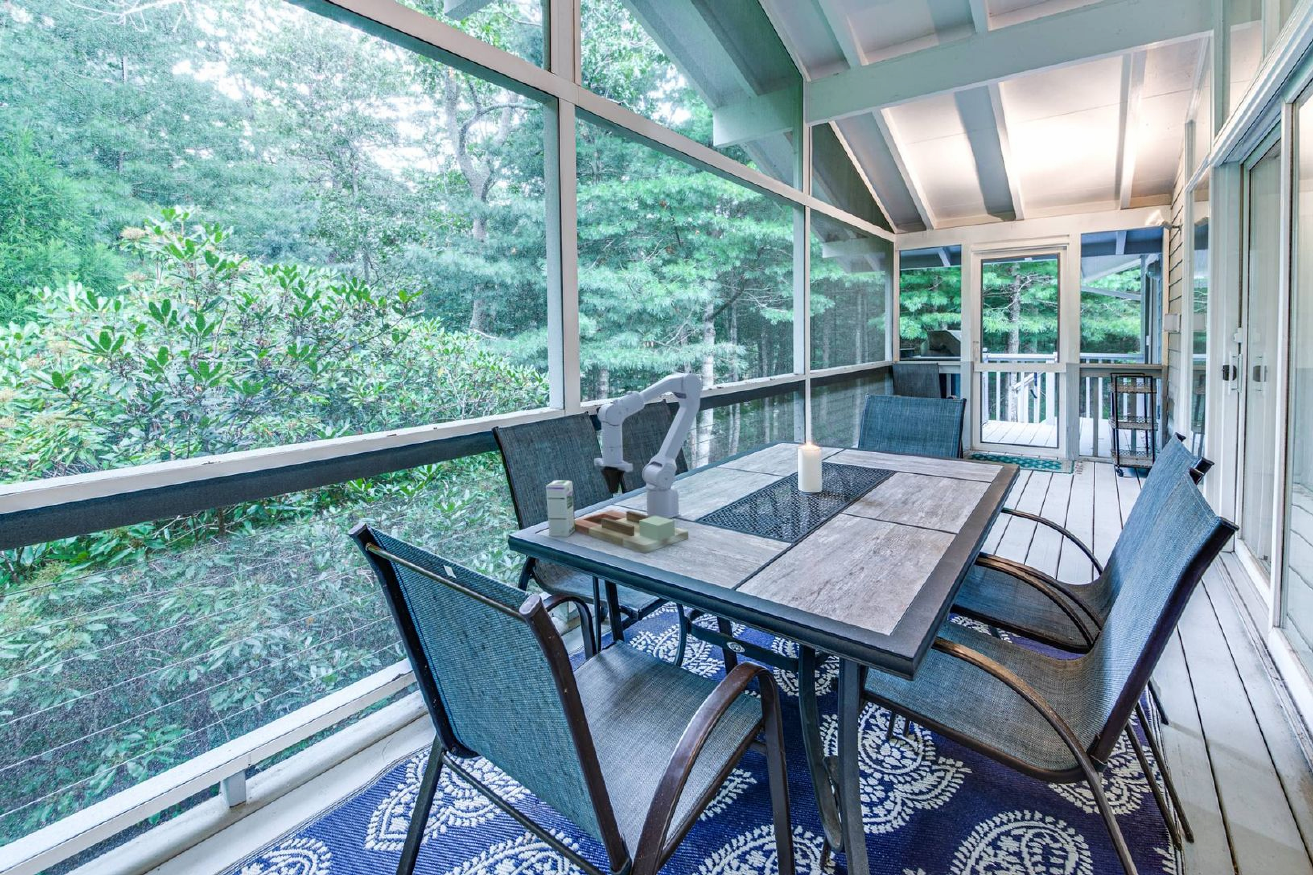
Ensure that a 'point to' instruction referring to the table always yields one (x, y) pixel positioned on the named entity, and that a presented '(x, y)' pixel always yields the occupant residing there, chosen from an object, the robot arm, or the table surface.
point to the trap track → (624, 530)
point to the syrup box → (560, 508)
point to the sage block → (657, 528)
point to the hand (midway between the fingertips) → (613, 492)
